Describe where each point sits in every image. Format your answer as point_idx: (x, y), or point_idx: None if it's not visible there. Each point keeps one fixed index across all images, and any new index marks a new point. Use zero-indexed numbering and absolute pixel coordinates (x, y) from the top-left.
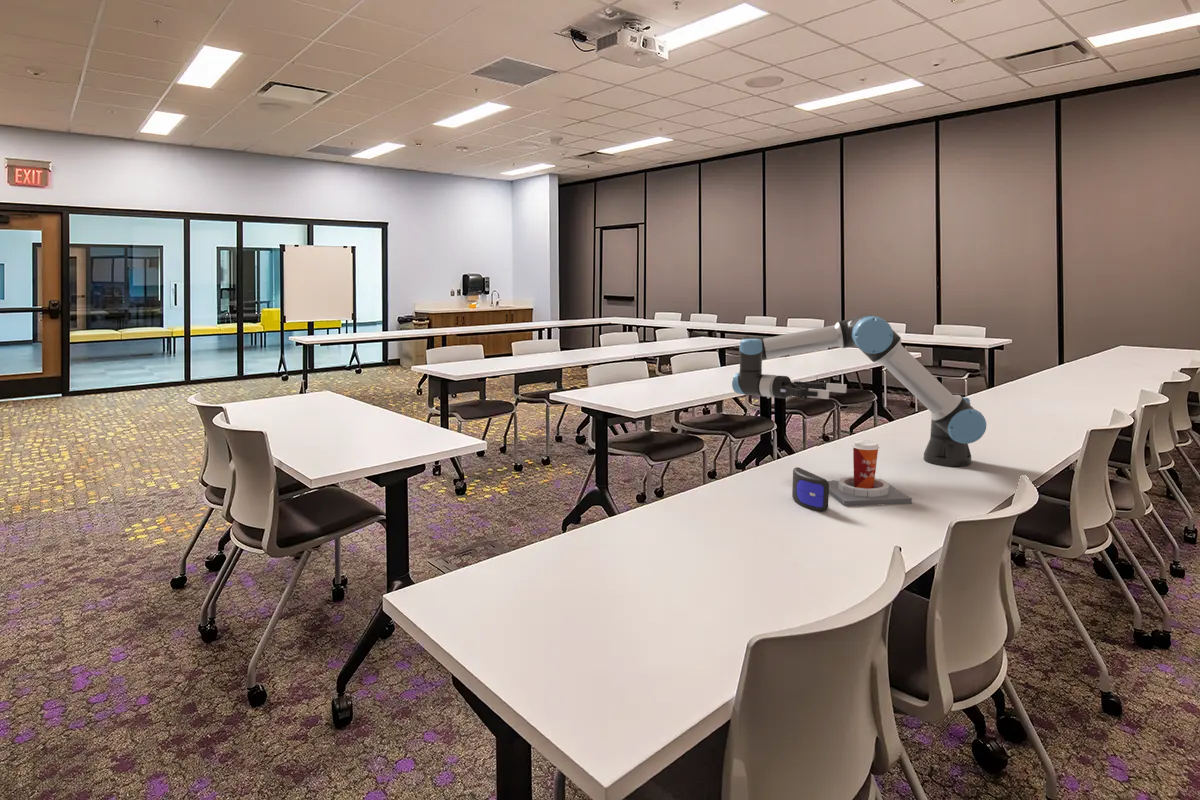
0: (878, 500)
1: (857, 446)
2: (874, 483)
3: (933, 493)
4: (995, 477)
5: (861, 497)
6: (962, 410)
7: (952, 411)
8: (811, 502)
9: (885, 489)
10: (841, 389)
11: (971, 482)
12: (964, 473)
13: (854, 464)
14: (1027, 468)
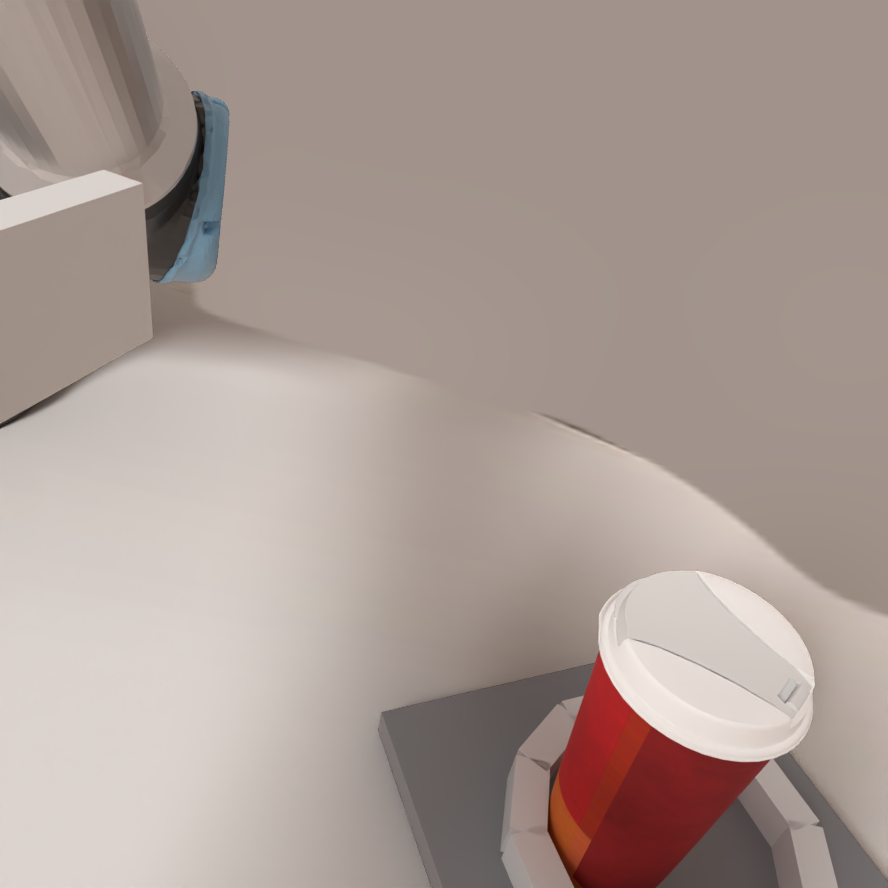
0: (818, 793)
1: (801, 719)
2: (560, 761)
3: (496, 547)
4: (223, 344)
5: (838, 885)
6: (205, 113)
7: (197, 133)
8: None
9: None
10: (85, 310)
11: (299, 410)
12: (162, 393)
13: (704, 825)
14: None
